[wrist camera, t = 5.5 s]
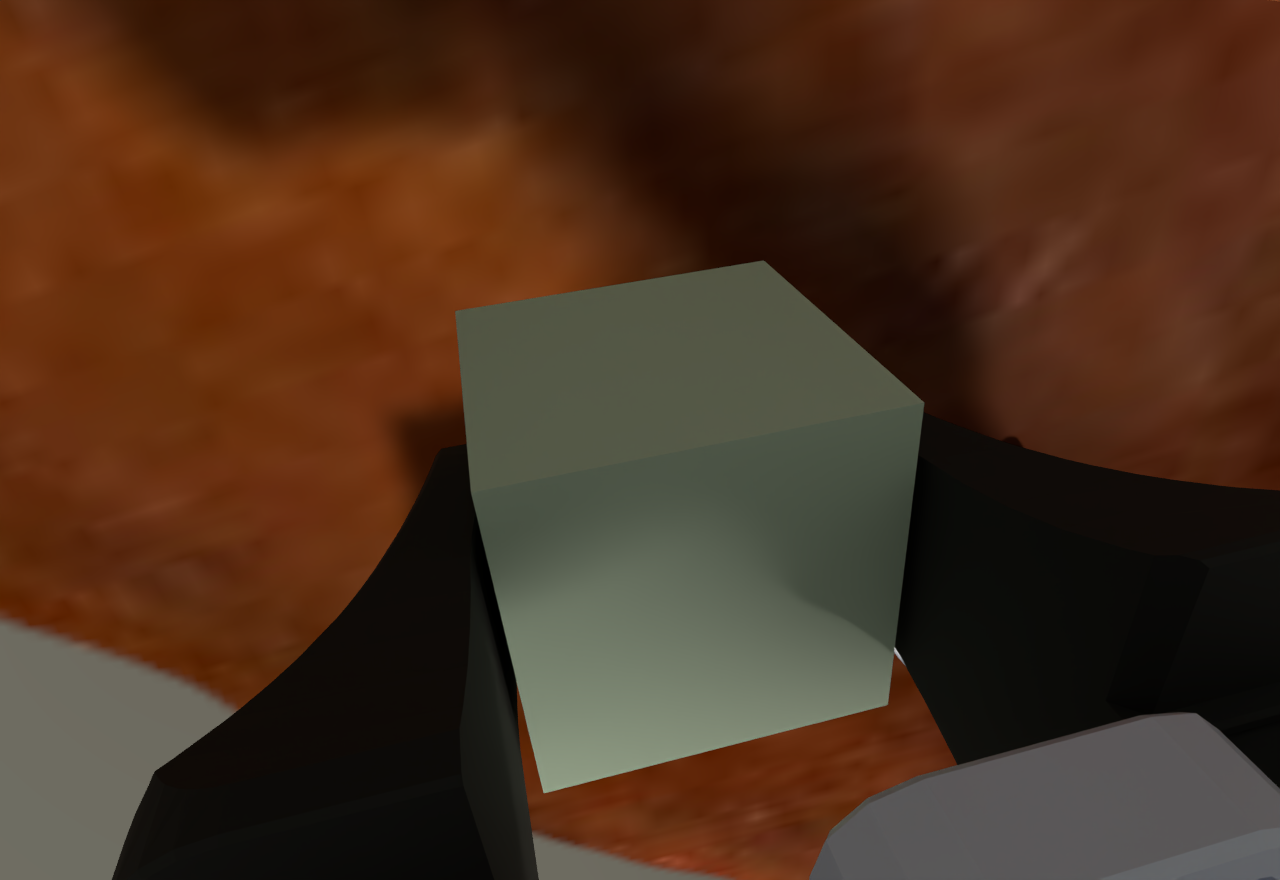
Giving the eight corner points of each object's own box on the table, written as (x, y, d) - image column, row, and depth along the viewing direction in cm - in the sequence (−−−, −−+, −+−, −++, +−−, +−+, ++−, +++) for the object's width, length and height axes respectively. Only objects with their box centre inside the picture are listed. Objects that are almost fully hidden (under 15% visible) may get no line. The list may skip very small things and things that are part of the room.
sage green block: (763, 505, 16) (887, 704, 11) (510, 559, 15) (543, 793, 11) (763, 260, 13) (924, 402, 9) (455, 311, 12) (471, 493, 8)
